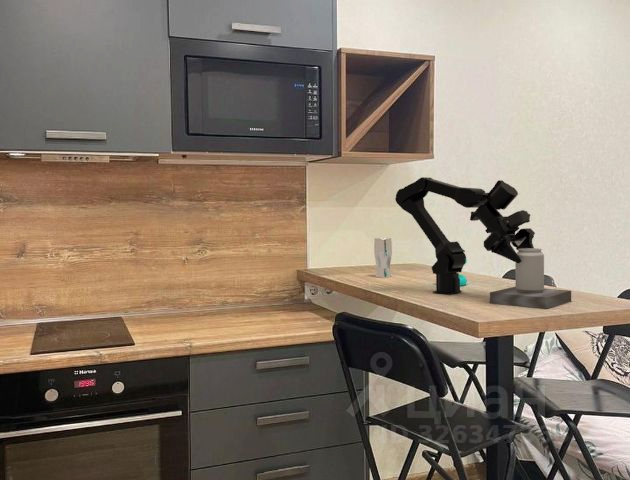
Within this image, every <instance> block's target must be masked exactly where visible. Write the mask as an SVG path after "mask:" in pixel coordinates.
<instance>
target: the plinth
mask: <svg viewBox="0 0 630 480" xmlns="http://www.w3.org/2000/svg"><path fill="white" fill-rule="evenodd" d="M570 302H572V290H570V289H569V290H567V289H558V288H557V289H556V288H545V287H544V289H543V290H542V291H541V292H539V293H524V292H519V291H518V290H517V289H516V285H515V286H511V287H508V288H503V289H498V290H494V291H490V292H489V304H495V305H505V306H513V307H523V308H533V309H541V310H542V309H543V310H548V309H551V308H556V307H559V306H561V305H564V304H568V303H570Z"/></svg>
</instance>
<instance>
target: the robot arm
mask: <svg viewBox="0 0 630 480" xmlns="http://www.w3.org/2000/svg"><path fill="white" fill-rule="evenodd" d="M429 192H430V193H433V194H436V195H439V196H442V197H445V198H449V199H452V200H453V201H455V202H456V203H457V204H458V205H460V206H462V207H464V208H468V209H469V208H471V209H473V208H474V209H475V208H476V209H475V210H474V211H471V212H470V217H469V218H470V219H469V220H470V221H471V222H472V221H473V222H475V221H480V223H481V224H482V225H483V226H484V227H485V228H486V229H485V233H487V234H489V235H488V237H486V238H485V239H484V241H483V248H485V250H486V251H487V252H490V251H491V253H493V254H496V255H498V256H501V257H502V258H505V259H508V260H510V261H512V262H514V263H515V262H516V263H520V262H521V259H520V258H519V256H518V255H517V251H518V249H521V248H535V247H534V243H533V239H534V238H535V234H536V232H534V230H533V229H532V228H528V227H526V228H520V227H521V226H522V225H523V224H527V223H529V222H531V214H530V213H529V212H528V210H525V209H523V210H519V211H516V212H514V213H512V214H510V215H507V216H503V215H502V213H501V212H500V211H499V210H503V211H504V210H505V209H507V208H508V207H509V205H511V203H512V202H513V201H514V200H515V199H516V198H517V196H518V195H519V193H518V190H517V189H516V188H515V187H514V186H511V185H510V184H509V183H507V182H505V181H504V180H502V179H501V180H500V179H499V180H497V181H496V183H495V184H494V186H493V187H492V188H491V190H490V191H488V192H486V191H485V190H484V189H482V188H479V187H477V188H476V187H461V186H457V185H454V184H452V183H448V182H444V181H441V180H437V179H433V178H432V177H426V176H425V177H423V176H422V177H420V178H418V179H417V180H416V181H413V182H412V183H410V184H408V185H406V186H404V187H403V188H400V189H398V190H397V191H396V192H395V193H396V194H395V199H394V200H395V202H396V203H397V205H398V206H399V207H400V208H401V209H402V210H403V211H404V212H406V213H408V214H409V215H411V216H412V218H413V219H414V221H415V222H416V223H417V225H418V226H419V228H420V229H421V231H422V232H423V233H424V235H425V236H426V238H427V239H428V240H429V242H430V243H431V245H432V246H433V247H434V251H435V258H436V261H435V262H434V263H433V265H432V266H431V271H432V274H433V275H435V281H436V283H435V286H436V287H435V289H436V290H433V293H436V294H446V295H453V294H458V293H462V290H461V286H460V278H459V274H460V273H462V271H463V268H464V266H465V265H466V264H465V262H466V259H467V254H465V252H466V250H464V249H463V248H462V246H461V245H460V243H459V241H450V240H449V239H448V238H447V236H446V235H445V234H444V232H443V231H442V230H441V228H440V227H439V225H438V224H437V223H436V221H435V220H434V218H433V217H432V216H431V214H430V213H429V212H428V210H427V209H426V207H425V199H424V198H425V197H427V195H428V193H429ZM513 247H515V249H516V250H517V251H516V250H515V249H514V248H513ZM466 263H467V262H466ZM464 264H465V265H464Z"/></svg>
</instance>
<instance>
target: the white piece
mask: <svg viewBox="0 0 630 480" xmlns="http://www.w3.org/2000/svg"><path fill="white" fill-rule="evenodd" d="M373 254H374V259H375V265H376V272H375V278H378V277H379V278H381V279H383V278H384V279H385V278H387V277H388V278H391V277H392V273H391V272H392V271H391V261H392V257H393V255H392V254H393V244H392V238H391V237H380V238H379V237H378V238H377V237H376V238H374V244H373Z"/></svg>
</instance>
